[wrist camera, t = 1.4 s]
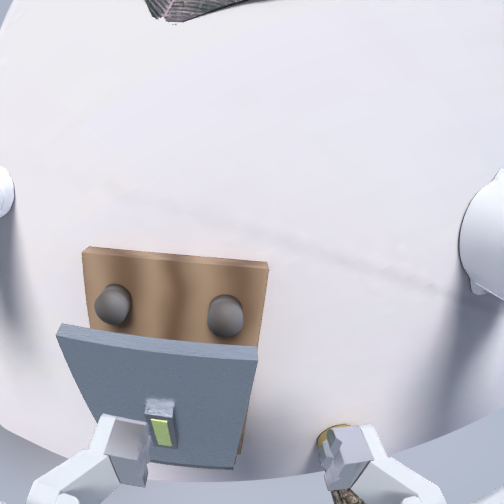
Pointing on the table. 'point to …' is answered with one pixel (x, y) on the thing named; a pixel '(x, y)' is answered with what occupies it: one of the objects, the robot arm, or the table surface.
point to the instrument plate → (166, 390)
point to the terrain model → (185, 8)
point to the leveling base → (175, 297)
